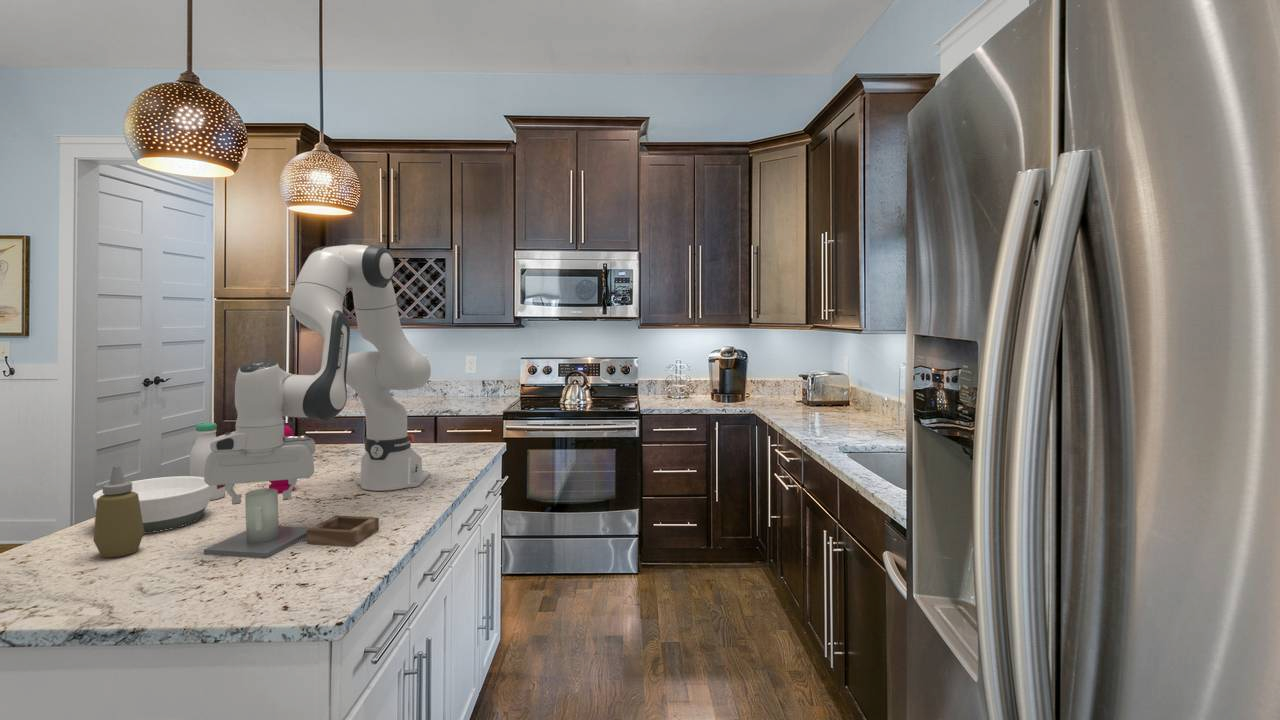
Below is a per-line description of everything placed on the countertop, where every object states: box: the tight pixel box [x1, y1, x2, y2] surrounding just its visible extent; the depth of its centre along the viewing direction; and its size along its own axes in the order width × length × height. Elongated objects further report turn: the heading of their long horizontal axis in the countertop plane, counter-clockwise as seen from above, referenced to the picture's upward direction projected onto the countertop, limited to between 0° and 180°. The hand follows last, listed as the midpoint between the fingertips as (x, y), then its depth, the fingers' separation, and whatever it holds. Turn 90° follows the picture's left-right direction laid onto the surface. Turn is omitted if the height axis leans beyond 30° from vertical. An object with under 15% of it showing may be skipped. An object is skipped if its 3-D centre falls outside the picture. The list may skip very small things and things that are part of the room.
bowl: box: [92, 475, 213, 533], centre depth 150 cm, size 22×22×8 cm
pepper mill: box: [268, 424, 296, 494], centre depth 178 cm, size 7×7×20 cm
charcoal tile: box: [203, 525, 312, 559], centre depth 137 cm, size 16×14×1 cm
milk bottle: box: [189, 422, 226, 501], centre depth 170 cm, size 8×8×20 cm
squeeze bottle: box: [93, 465, 145, 558], centre depth 130 cm, size 8×8×18 cm
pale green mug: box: [244, 487, 280, 543], centre depth 136 cm, size 8×6×10 cm
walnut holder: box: [306, 515, 380, 547], centre depth 141 cm, size 10×10×3 cm
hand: (262, 501), depth 137 cm, fingers open, 8 cm apart
